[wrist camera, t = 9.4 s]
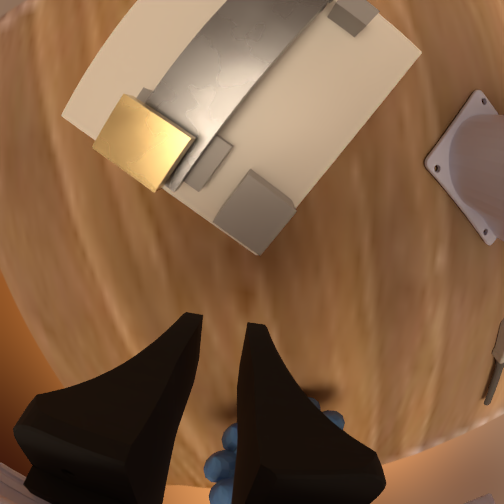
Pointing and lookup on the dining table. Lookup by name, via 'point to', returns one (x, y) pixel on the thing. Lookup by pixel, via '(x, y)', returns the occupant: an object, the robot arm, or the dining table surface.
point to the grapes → (223, 462)
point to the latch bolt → (142, 142)
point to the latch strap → (226, 68)
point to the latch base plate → (256, 106)
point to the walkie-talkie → (500, 352)
